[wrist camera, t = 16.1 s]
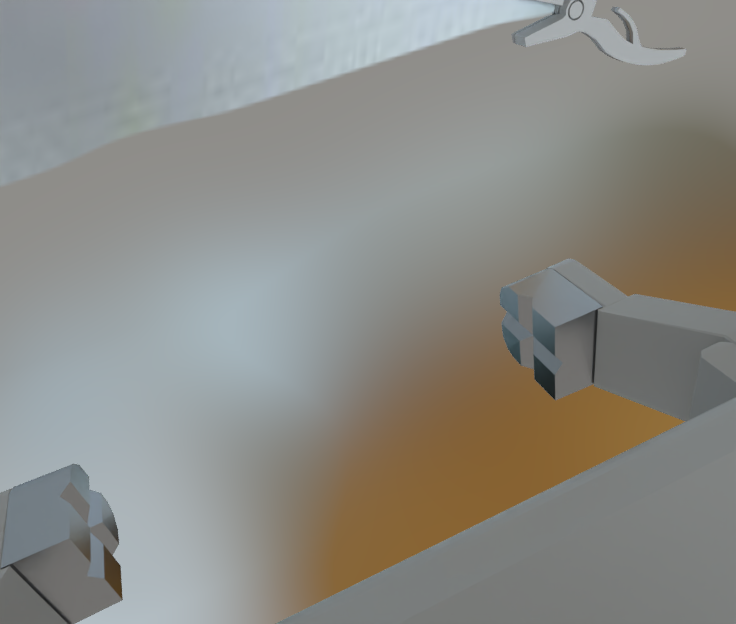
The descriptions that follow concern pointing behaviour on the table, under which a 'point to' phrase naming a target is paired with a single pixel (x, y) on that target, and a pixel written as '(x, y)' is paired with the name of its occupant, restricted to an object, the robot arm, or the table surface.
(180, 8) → the table surface
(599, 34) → the pliers
